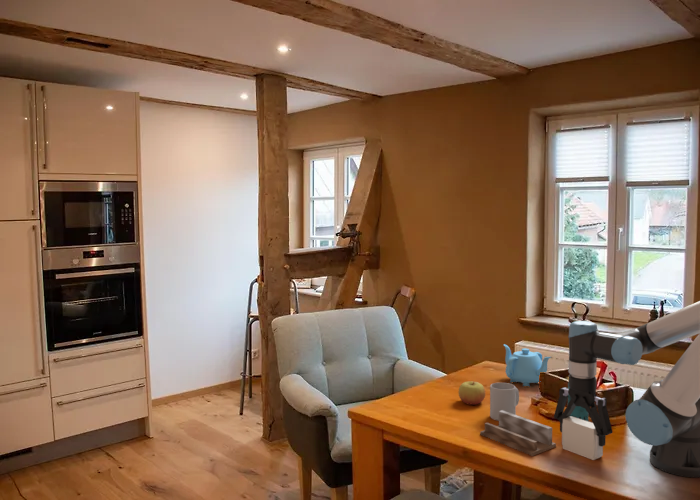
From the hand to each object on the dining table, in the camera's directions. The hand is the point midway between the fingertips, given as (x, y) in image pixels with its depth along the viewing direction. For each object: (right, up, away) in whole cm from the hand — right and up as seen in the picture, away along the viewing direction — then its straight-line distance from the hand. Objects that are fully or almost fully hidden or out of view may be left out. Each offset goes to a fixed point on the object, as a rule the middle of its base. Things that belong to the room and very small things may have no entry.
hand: (581, 449), depth 166 cm
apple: (-22, +1, +45) cm, 50 cm away
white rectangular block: (0, -1, 0) cm, 1 cm away
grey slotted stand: (-16, 0, +10) cm, 19 cm away
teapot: (+5, +3, +69) cm, 69 cm away
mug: (-14, +1, +31) cm, 34 cm away
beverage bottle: (+5, 0, +16) cm, 16 cm away
